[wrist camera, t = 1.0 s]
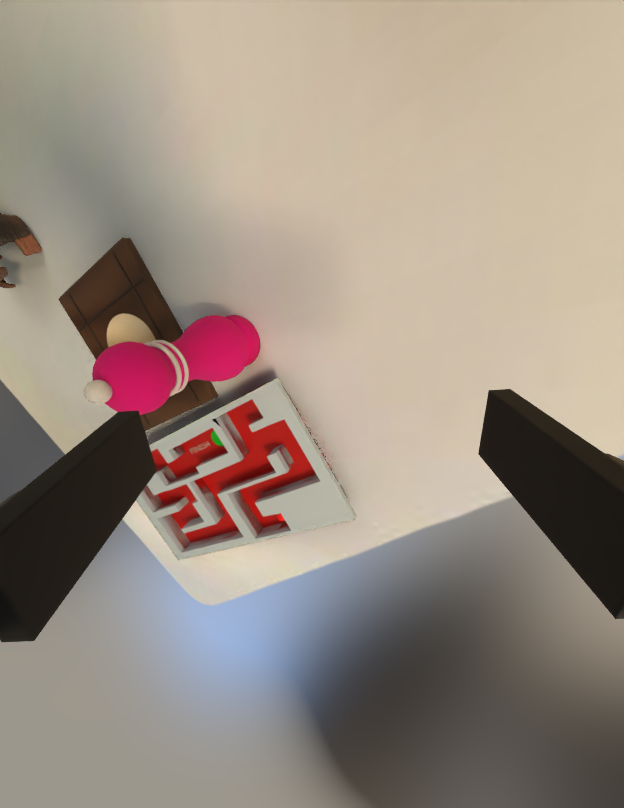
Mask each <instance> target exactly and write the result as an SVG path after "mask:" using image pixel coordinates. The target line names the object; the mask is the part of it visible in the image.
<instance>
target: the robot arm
mask: <svg viewBox="0 0 624 808" xmlns="http://www.w3.org/2000/svg"><path fill="white" fill-rule="evenodd" d="M478 454H479V455H480V457H481V458H482V459H483V460H484V461H485V463H486V464H487V465H488V466H489V467H490V469H491V470H492V471H493V472H494V473H495V475H496V476H497V477H498V478H499V479H500V481H501V482H502V483H503V484H504V485H505V487H506V488H507V489H508V490H509V491H510V493H511V494H512V495H513V496H514V497H515V498H516V500H517V501H518V502H519V503H520V504H521V506H522V507H523V508H524V509H525V511H526V512H527V513H528V514H529V515H530V516H531V518H532V519H533V520H534V521H535V523H536V524H537V525H538V526H539V527H540V529H541V530H542V531H543V532H544V533H545V535H546V536H547V537H548V538H549V539H550V541H551V542H552V543H553V544H554V545H555V547H556V548H557V549H558V550H559V551H560V553H561V554H562V555H563V556H564V558H565V559H566V560H567V561H568V562H569V564H571V566H572V567H573V568H574V569H575V571H576V572H577V573H578V574H579V576H580V577H581V578H582V579H583V580H584V582H585V583H586V584H587V585H588V586H589V587H590V589H591V590H592V591H593V592H594V593H595V595H596V596H597V597H598V598H599V599H600V601H601V602H602V603H603V604H604V606H605V607H606V608H607V609H608V610H609V612H610V613H611V614H612V615H613V616H614V618H615V619H624V461H623V460H621V459H619V458H616V457H614V456H612V455H610V454H605V453H603V452H602V451H600V450H599V449H597V448H596V447H594V446H593V445H591V444H590V443H588V442H587V441H585V440H584V439H582V438H581V437H580V436H578V435H577V434H575V433H574V432H572V431H571V430H569V429H568V428H566V427H565V426H563V425H562V424H560V423H559V422H557V421H556V420H555V419H553V418H552V417H550V416H549V415H547V414H546V413H544V412H543V411H541V410H540V409H538V408H537V407H535V406H534V405H533V404H531V403H530V402H528V401H527V400H525V399H524V398H522V397H521V396H519V395H518V394H516V393H515V392H513V391H512V390H510V389H505V390H489V393H488V399H487V405H486V411H485V417H484V423H483V429H482V435H481V441H480V447H479V453H478ZM156 471H157V469H156V466H155V463H154V459H153V456H152V453H151V450H150V446H149V443H148V440H147V437H146V433H145V430H144V427H143V423H142V420H141V417H140V414H139V411H122V412H118V413H116V414H115V415H114V416H113V417H112V418H110V419H109V420H108V421H107V422H105V423H104V424H103V425H102V426H100V427H99V428H98V429H97V430H95V431H94V432H93V433H92V434H90V435H89V436H88V437H87V438H86V439H84V440H83V441H82V442H81V443H79V444H78V445H77V446H76V447H74V448H73V449H72V450H71V451H69V452H68V453H67V454H66V455H64V456H63V457H62V458H61V459H59V460H58V461H57V462H56V463H55V464H53V465H52V466H51V467H50V468H48V469H47V470H46V471H45V472H43V473H42V474H41V475H40V476H39V477H37V478H36V479H35V480H33V481H32V482H31V483H30V484H28V485H27V486H26V487H25V488H24V489H22V490H21V491H19V492H17V493H15V494H13V495H12V496H10V497H9V498H7V499H6V500H5V501H4V502H2V503H1V504H0V640H1V642H18V641H34V640H35V639H36V637H37V636H38V635H39V633H40V632H41V631H42V629H43V628H44V626H45V625H46V624H47V622H48V621H49V619H50V618H51V617H52V615H53V614H54V613H55V611H56V610H57V608H58V607H59V605H60V604H61V603H62V601H63V600H64V599H65V597H66V596H67V595H68V593H69V592H70V590H71V589H72V588H73V586H74V585H75V584H76V582H77V581H78V579H79V578H80V577H81V575H82V574H83V572H84V571H85V570H86V568H87V567H88V566H89V564H90V563H91V561H92V560H93V559H94V557H95V556H96V554H97V553H98V552H99V550H100V549H101V548H102V546H103V545H104V543H105V542H106V540H107V539H108V538H109V536H110V535H111V534H112V532H113V531H114V530H115V528H116V527H117V525H118V524H119V523H120V521H121V520H122V518H123V517H124V516H125V514H126V513H127V512H128V510H129V509H130V507H131V506H132V505H133V503H134V502H135V501H136V499H137V498H138V496H139V495H140V494H141V492H142V491H143V489H144V488H145V487H146V485H147V484H148V483H149V481H150V480H151V478H152V477H153V476H154V474H155V473H156Z"/></svg>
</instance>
